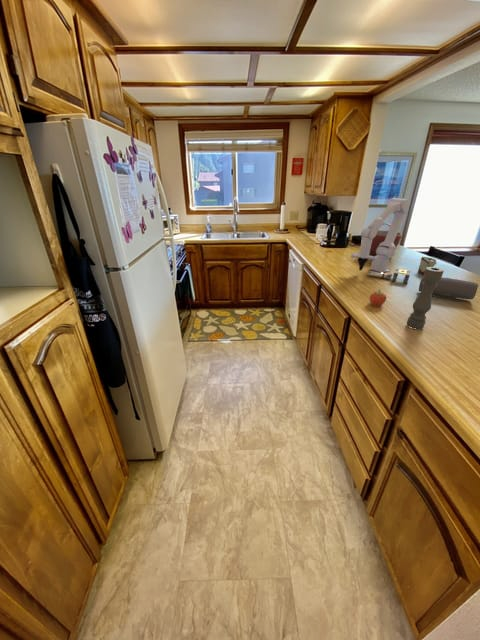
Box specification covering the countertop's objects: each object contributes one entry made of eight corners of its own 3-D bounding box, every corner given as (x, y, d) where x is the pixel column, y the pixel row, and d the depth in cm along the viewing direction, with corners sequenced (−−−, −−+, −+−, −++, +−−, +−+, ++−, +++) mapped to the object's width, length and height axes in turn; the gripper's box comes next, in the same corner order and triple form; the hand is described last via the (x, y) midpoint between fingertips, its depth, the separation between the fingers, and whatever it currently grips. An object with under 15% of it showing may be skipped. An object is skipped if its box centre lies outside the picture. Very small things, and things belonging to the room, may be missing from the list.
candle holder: (402, 323, 114) (421, 266, 102) (416, 322, 114) (436, 266, 102) (412, 330, 108) (433, 272, 96) (426, 329, 109) (449, 271, 97)
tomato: (383, 309, 125) (387, 294, 122) (366, 306, 129) (370, 290, 125) (385, 303, 131) (389, 288, 127) (369, 300, 134) (372, 286, 131)
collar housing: (391, 281, 158) (394, 272, 155) (393, 277, 164) (395, 268, 161) (406, 284, 154) (410, 274, 151) (407, 279, 160) (410, 270, 157)
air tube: (367, 276, 166) (368, 271, 165) (368, 275, 169) (369, 270, 167) (390, 280, 160) (391, 275, 159) (390, 278, 162) (392, 273, 161)
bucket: (361, 253, 216) (367, 221, 204) (389, 254, 213) (398, 221, 201) (369, 261, 195) (377, 226, 183) (401, 262, 192) (411, 226, 180)
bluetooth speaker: (468, 297, 136) (476, 279, 131) (471, 304, 129) (480, 285, 124) (417, 289, 146) (423, 272, 142) (417, 295, 139) (423, 277, 135)
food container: (435, 278, 162) (441, 262, 157) (424, 277, 163) (429, 262, 158) (427, 272, 173) (432, 257, 168) (416, 271, 174) (421, 256, 169)
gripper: (351, 248, 162) (347, 269, 169) (377, 251, 155) (371, 273, 162) (354, 246, 168) (349, 266, 174) (378, 249, 161) (373, 270, 167)
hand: (360, 269), depth 168 cm, fingers closed
